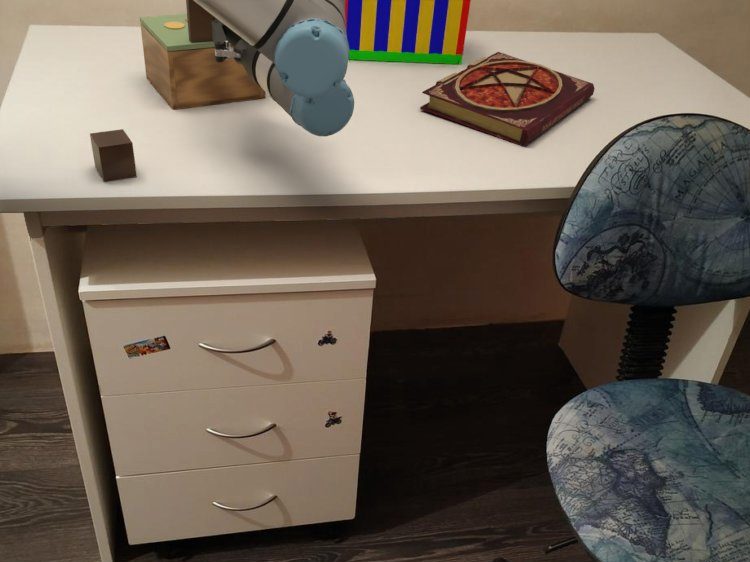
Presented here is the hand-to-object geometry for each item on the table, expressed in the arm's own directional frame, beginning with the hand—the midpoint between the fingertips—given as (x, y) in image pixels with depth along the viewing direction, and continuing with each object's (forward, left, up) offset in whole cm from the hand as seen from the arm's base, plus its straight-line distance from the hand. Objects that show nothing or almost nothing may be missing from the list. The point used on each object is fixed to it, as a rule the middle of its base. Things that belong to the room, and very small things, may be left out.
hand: (217, 12), depth 122 cm
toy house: (+42, +16, -15) cm, 47 cm away
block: (-22, -17, -15) cm, 32 cm away
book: (+48, -14, -15) cm, 52 cm away
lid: (0, +8, -5) cm, 9 cm away
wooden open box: (0, +8, -15) cm, 16 cm away
